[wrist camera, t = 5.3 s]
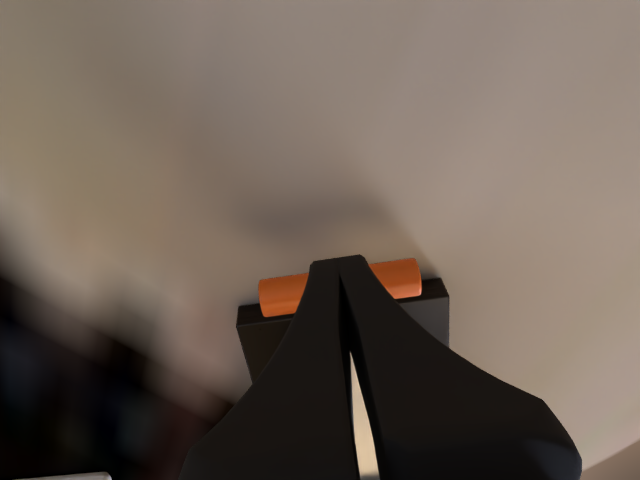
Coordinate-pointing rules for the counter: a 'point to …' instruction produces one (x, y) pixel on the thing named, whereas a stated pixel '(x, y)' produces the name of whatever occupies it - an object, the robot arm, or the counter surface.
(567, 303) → the counter surface
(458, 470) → the robot arm
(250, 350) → the switch bracket
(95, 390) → the counter surface
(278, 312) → the switch lever
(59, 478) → the medicine bottle
